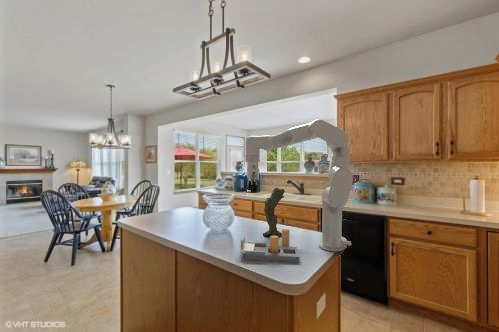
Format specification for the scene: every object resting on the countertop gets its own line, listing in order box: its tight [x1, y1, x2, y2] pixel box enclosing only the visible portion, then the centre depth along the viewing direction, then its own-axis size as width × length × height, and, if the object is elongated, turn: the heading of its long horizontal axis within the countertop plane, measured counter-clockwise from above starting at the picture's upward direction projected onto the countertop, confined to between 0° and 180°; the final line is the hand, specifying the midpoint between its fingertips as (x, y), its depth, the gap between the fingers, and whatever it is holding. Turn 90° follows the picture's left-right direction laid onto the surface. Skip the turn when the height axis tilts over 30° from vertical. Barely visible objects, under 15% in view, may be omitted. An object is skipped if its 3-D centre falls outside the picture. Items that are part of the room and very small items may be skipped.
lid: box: [239, 235, 255, 254], centre depth 111 cm, size 6×10×5 cm, turn 175°
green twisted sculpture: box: [262, 187, 286, 238], centre depth 141 cm, size 14×7×30 cm, turn 106°
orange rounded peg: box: [281, 228, 291, 247], centre depth 121 cm, size 4×4×9 cm
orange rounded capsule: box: [269, 236, 280, 253], centre depth 110 cm, size 4×4×9 cm
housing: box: [244, 241, 300, 263], centre depth 110 cm, size 24×12×4 cm, turn 85°
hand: (252, 191), depth 125 cm, fingers open, 9 cm apart
